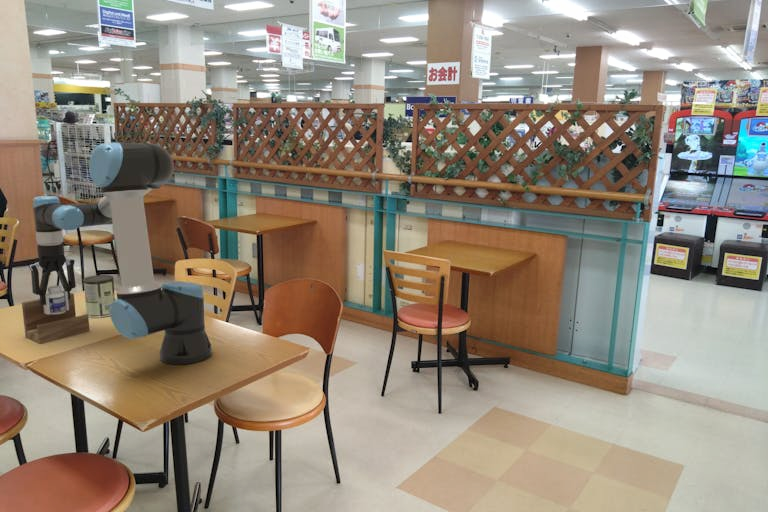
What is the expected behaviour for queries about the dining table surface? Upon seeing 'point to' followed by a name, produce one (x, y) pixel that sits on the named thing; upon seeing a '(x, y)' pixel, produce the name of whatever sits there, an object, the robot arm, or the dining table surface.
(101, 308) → the coffee can
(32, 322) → the wooden display stand
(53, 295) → the pill bottle
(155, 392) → the dining table surface
